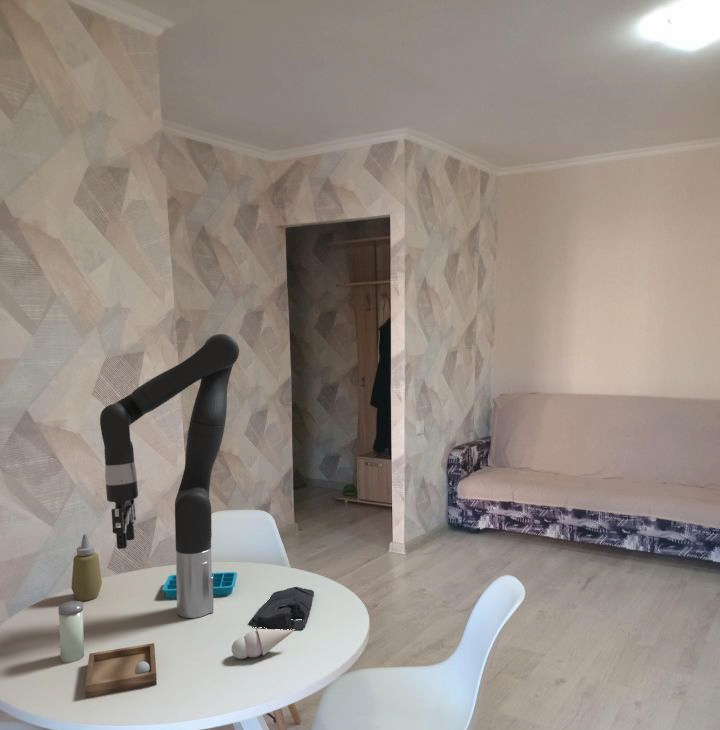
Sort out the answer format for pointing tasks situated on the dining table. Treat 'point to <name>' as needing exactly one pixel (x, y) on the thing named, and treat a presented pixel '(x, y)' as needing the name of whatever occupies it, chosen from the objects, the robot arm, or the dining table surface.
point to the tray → (119, 670)
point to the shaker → (71, 631)
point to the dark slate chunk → (285, 610)
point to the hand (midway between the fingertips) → (126, 543)
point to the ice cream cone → (258, 642)
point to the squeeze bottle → (86, 572)
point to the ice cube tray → (221, 584)
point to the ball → (142, 668)
